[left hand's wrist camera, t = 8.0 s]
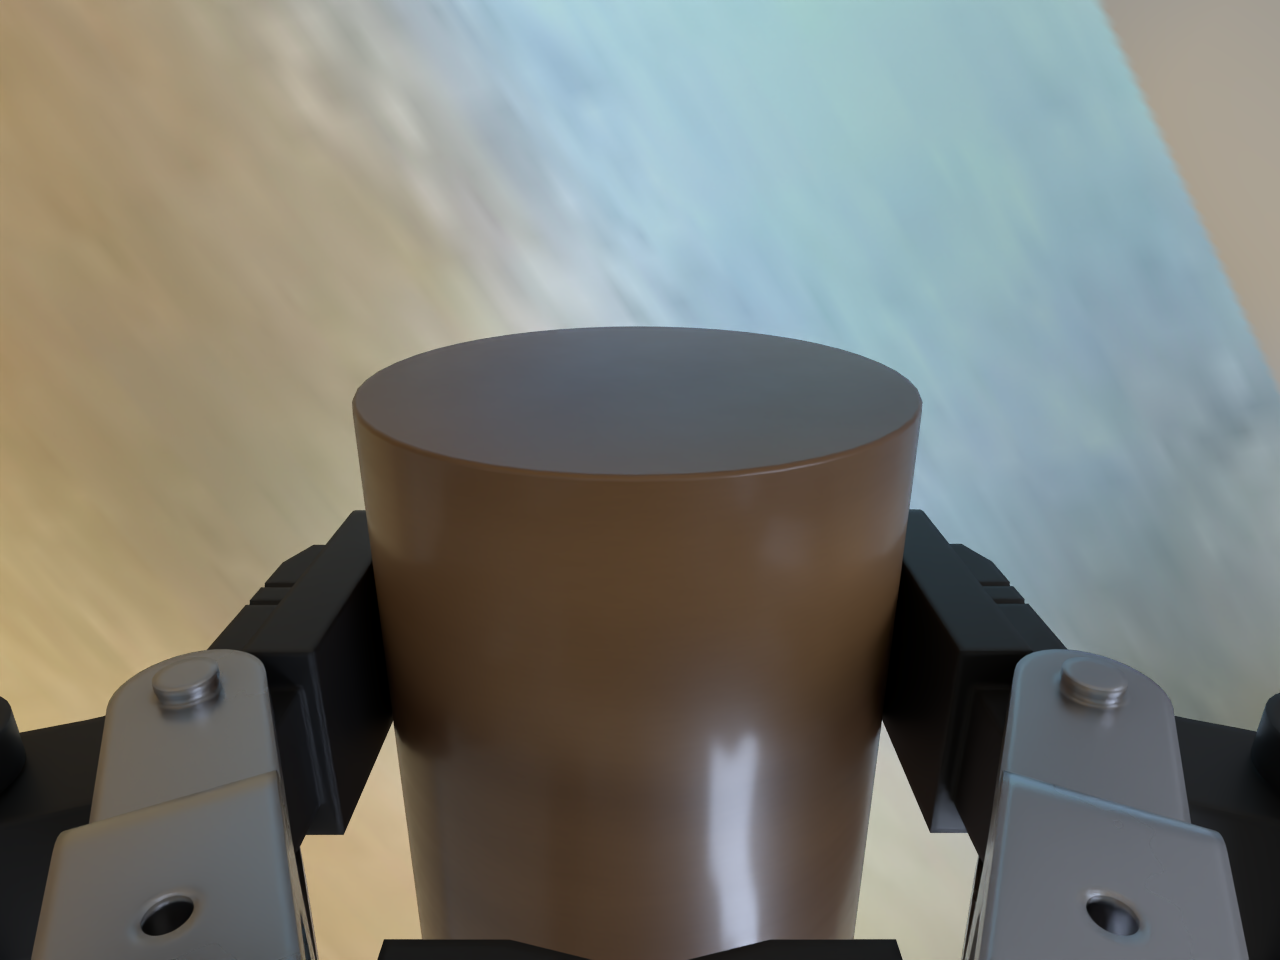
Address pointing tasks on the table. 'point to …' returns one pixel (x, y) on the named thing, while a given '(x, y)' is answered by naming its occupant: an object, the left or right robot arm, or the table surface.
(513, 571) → the rod
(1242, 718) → the table surface
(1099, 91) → the table surface
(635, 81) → the table surface
